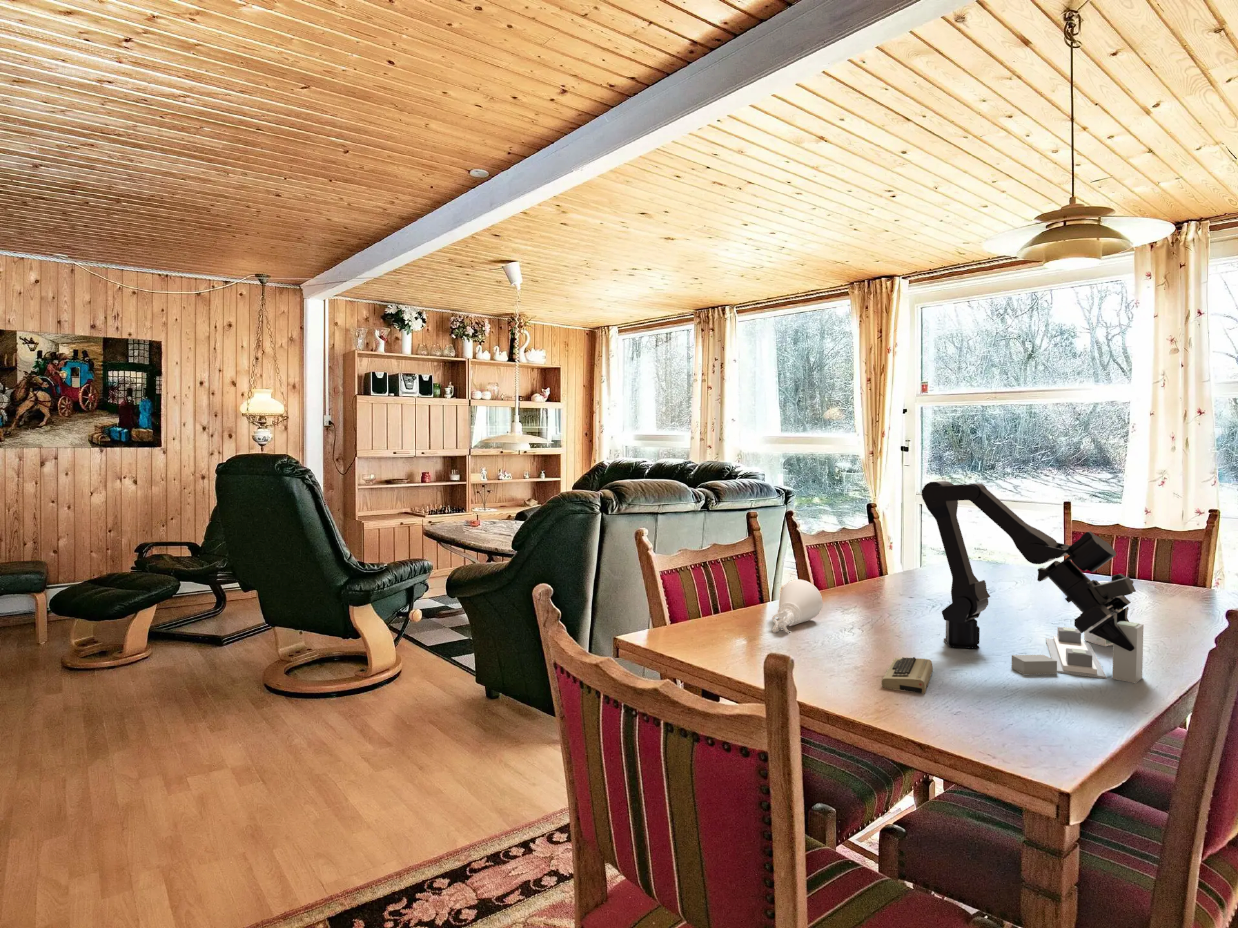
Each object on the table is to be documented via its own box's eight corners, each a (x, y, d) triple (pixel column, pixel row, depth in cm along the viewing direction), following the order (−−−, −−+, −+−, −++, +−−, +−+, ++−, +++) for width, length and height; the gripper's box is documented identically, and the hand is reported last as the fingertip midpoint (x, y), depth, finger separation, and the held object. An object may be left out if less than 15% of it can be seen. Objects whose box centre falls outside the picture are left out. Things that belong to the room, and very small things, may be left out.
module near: (1067, 664, 155) (1067, 651, 155) (1065, 659, 159) (1065, 647, 159) (1092, 667, 153) (1092, 654, 153) (1089, 662, 157) (1090, 649, 157)
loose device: (1024, 675, 153) (1024, 661, 153) (1011, 669, 158) (1011, 655, 157) (1056, 675, 153) (1057, 660, 153) (1043, 668, 158) (1043, 654, 158)
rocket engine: (779, 597, 183) (801, 571, 198) (748, 621, 189) (772, 593, 204) (811, 634, 181) (831, 604, 196) (779, 656, 187) (801, 626, 202)
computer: (892, 667, 159) (892, 652, 159) (933, 673, 155) (933, 657, 155) (880, 689, 145) (881, 672, 145) (925, 696, 141) (925, 679, 141)
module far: (1058, 641, 173) (1059, 629, 173) (1057, 637, 177) (1057, 626, 176) (1080, 643, 171) (1081, 632, 171) (1079, 639, 175) (1079, 628, 175)
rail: (1055, 672, 154) (1055, 665, 154) (1045, 640, 179) (1046, 634, 179) (1106, 678, 150) (1106, 671, 150) (1089, 644, 175) (1089, 638, 175)
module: (1112, 678, 150) (1113, 623, 150) (1119, 673, 154) (1120, 619, 153) (1135, 683, 147) (1137, 627, 147) (1142, 677, 151) (1143, 623, 150)
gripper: (1093, 567, 146) (1160, 633, 139) (1119, 557, 159) (1181, 617, 151) (1049, 600, 153) (1110, 665, 145) (1077, 588, 165) (1135, 647, 157)
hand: (1136, 647), depth 149 cm, fingers closed on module, 5 cm apart
